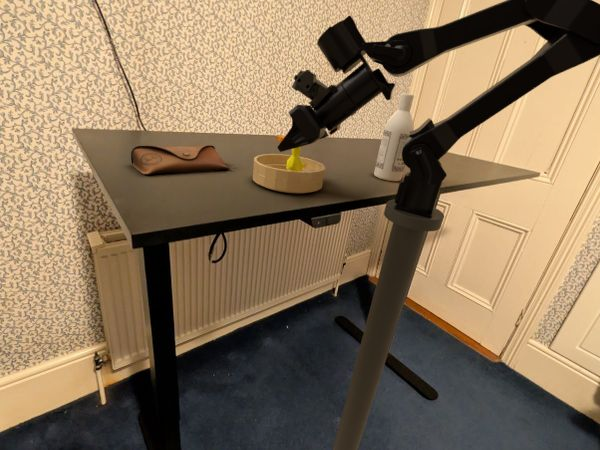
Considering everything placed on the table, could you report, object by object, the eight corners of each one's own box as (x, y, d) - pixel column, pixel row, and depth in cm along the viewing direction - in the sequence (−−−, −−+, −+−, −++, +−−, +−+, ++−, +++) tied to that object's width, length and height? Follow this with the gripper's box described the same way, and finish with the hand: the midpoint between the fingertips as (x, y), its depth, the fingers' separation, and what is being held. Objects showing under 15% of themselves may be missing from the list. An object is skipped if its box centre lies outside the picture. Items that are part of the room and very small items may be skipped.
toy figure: (270, 180, 65) (276, 118, 60) (275, 176, 68) (281, 117, 63) (302, 186, 64) (311, 123, 59) (306, 182, 67) (314, 122, 62)
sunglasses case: (145, 174, 58) (136, 138, 58) (135, 183, 64) (128, 150, 64) (232, 168, 70) (226, 138, 70) (218, 176, 75) (212, 148, 75)
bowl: (331, 185, 70) (335, 164, 68) (302, 201, 58) (306, 177, 56) (275, 170, 75) (277, 151, 73) (237, 182, 63) (239, 159, 61)
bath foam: (403, 178, 84) (424, 96, 76) (398, 183, 78) (421, 95, 70) (377, 172, 87) (395, 92, 79) (370, 177, 81) (389, 91, 73)
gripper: (335, 61, 64) (277, 111, 71) (309, 47, 47) (237, 114, 54) (366, 108, 65) (307, 153, 72) (351, 112, 49) (276, 169, 56)
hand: (284, 147), depth 64 cm, fingers open, 6 cm apart
